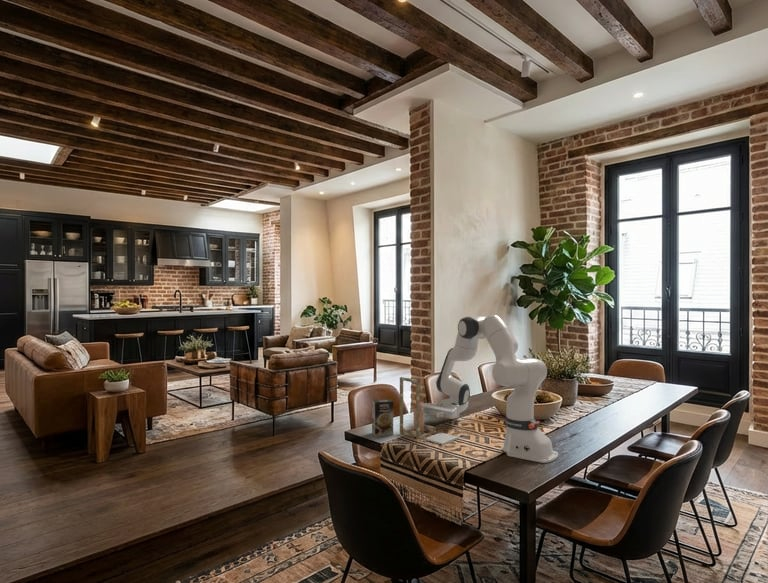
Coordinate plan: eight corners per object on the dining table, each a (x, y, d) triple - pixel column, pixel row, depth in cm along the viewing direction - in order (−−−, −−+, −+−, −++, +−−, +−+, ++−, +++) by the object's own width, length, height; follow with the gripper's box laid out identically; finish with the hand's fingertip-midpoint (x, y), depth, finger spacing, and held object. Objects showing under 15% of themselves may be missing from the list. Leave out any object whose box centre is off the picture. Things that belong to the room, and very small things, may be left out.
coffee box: (375, 437, 216) (374, 402, 216) (371, 432, 222) (371, 399, 222) (393, 435, 218) (393, 401, 218) (390, 431, 224) (389, 398, 224)
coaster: (458, 438, 213) (458, 437, 213) (442, 445, 204) (442, 443, 204) (440, 434, 220) (440, 432, 220) (424, 440, 211) (424, 438, 211)
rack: (436, 432, 222) (436, 376, 222) (418, 439, 212) (418, 380, 212) (418, 427, 230) (418, 373, 230) (399, 434, 220) (399, 377, 220)
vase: (426, 433, 222) (426, 403, 222) (419, 435, 218) (419, 405, 218) (418, 430, 225) (418, 402, 225) (411, 433, 222) (411, 404, 221)
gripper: (429, 398, 244) (412, 403, 234) (461, 405, 230) (445, 410, 220) (429, 410, 244) (412, 416, 234) (461, 418, 230) (445, 424, 220)
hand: (428, 413), depth 227 cm, fingers open, 8 cm apart
